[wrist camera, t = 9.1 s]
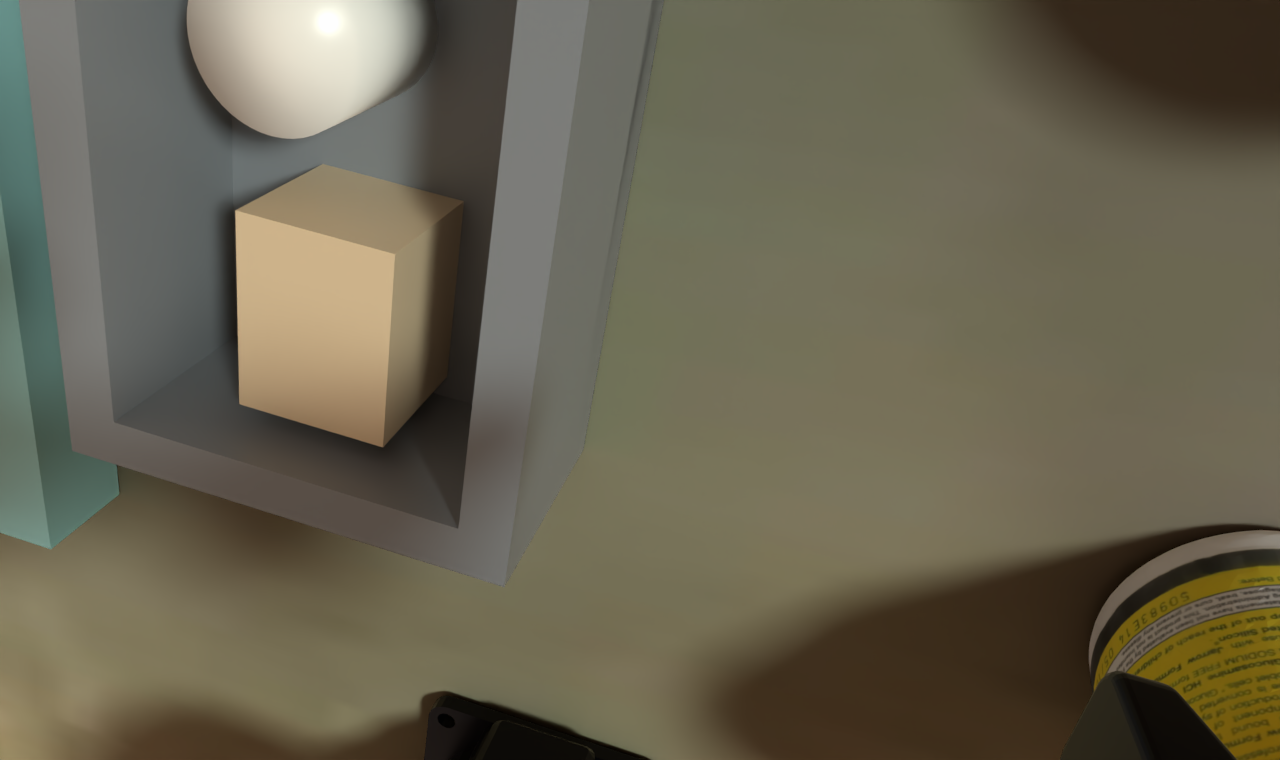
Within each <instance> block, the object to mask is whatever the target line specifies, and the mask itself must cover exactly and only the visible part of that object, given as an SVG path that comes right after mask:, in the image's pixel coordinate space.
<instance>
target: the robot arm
mask: <svg viewBox="0 0 1280 760" xmlns="http://www.w3.org/2000/svg"><path fill="white" fill-rule="evenodd" d="M449 715H450V716H449ZM451 716H452V717H451ZM424 760H642V759H639V758H636V757H633V756H630V755H627V754H624V753H621V752H618V751H615V750H612V749H609V748H606V747H603V746H600V745H597V744H594V743H591V742H588V741H585V740H582V739H579V738H576V737H573V736H570V735H567V734H564V733H561V732H558V731H555V730H552V729H549V728H546V727H543V726H540V725H536V724H533V723H530V722H527V721H524V720H521V719H518V718H515V717H512V716H509V715H506V714H503V713H500V712H497V711H494V710H491V709H488V708H485V707H482V706H479V705H476V704H473V703H470V702H467V701H464V700H461V699H458V698H455V697H451V696H443V697H440V698H439V699H437V701H436V702H435V704H434V706H433V708H432V709H431V711H430V714H429V720H428V729H427V738H426V748H425V757H424ZM1060 760H1237V759H1236V758H1235V756H1234V755H1233V754H1232V753H1231V752H1230V751H1229V750H1228V748H1227V747H1226V746H1225V745H1224V744H1223V743H1222V742H1221V740H1220V739H1219V738H1218V737H1217V736H1216V735H1215V734H1214V732H1213V731H1212V730H1211V729H1210V728H1209V727H1208V726H1207V724H1206V723H1205V722H1204V721H1203V720H1202V719H1201V718H1200V716H1199V715H1198V714H1197V713H1196V712H1195V711H1194V710H1193V708H1192V707H1191V706H1190V705H1189V704H1188V703H1187V702H1186V700H1185V699H1184V698H1183V697H1182V696H1181V695H1180V694H1179V693H1178V692H1177V691H1176V690H1175V689H1174V688H1172V687H1171V686H1169V685H1167V684H1164V683H1161V682H1157V681H1154V680H1150V679H1147V678H1143V677H1140V676H1137V675H1133V674H1130V673H1126V672H1123V671H1114V672H1110V673H1107V674H1106V675H1105V676H1104V677H1103V678H1102V679H1101V680H1100V682H1099V683H1098V685H1097V687H1096V688H1095V690H1094V692H1093V694H1092V696H1091V698H1090V700H1089V702H1088V704H1087V705H1086V707H1085V709H1084V711H1083V713H1082V715H1081V717H1080V719H1079V720H1078V722H1077V724H1076V726H1075V728H1074V730H1073V732H1072V734H1071V736H1070V737H1069V739H1068V741H1067V743H1066V745H1065V747H1064V749H1063V752H1062V755H1061V758H1060Z"/></svg>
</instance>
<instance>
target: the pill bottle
mask: <svg viewBox="0 0 1280 760" xmlns="http://www.w3.org/2000/svg"><path fill="white" fill-rule="evenodd" d="M1089 668H1090V675H1091V686H1092V692H1094V690H1095V688H1096V687H1097V685H1098V683H1099V682H1100V680H1101V679H1102V678H1103V677H1104V676H1105V675H1106V674H1107V673H1110V672H1114V671H1123V672H1126V673H1130V674H1133V675H1137V676H1140V677H1143V678H1147V679H1150V680H1154V681H1157V682H1161V683H1164V684H1167V685H1169V686H1171V687H1172V688H1174V689H1175V690H1176V691H1177V692H1178V693H1179V694H1180V695H1181V696H1182V697H1183V698H1184V699H1185V700H1186V702H1187V703H1188V704H1189V705H1190V706H1191V707H1192V708H1193V710H1194V711H1195V712H1196V713H1197V714H1198V715H1199V716H1200V718H1201V719H1202V720H1203V721H1204V722H1205V723H1206V724H1207V726H1208V727H1209V728H1210V729H1211V730H1212V731H1213V732H1214V734H1215V735H1216V736H1217V737H1218V738H1219V739H1220V740H1221V742H1222V743H1223V744H1224V745H1225V746H1226V747H1227V748H1228V750H1229V751H1230V752H1231V753H1232V754H1233V755H1234V756H1235V758H1236V759H1237V760H1280V531H1269V530H1253V531H1241V532H1233V533H1227V534H1221V535H1216V536H1212V537H1207V538H1203V539H1200V540H1197V541H1193V542H1190V543H1187V544H1184V545H1182V546H1179V547H1177V548H1174V549H1171V550H1169V551H1167V552H1166V553H1164V554H1162V555H1160V556H1158V557H1156V558H1154V559H1152V560H1151V561H1149V562H1147V563H1146V564H1144V565H1143V566H1142V567H1140V568H1139V569H1137V570H1136V571H1135V572H1133V573H1132V574H1131V575H1130V576H1129V577H1127V578H1126V579H1125V580H1124V581H1123V582H1122V583H1121V584H1120V585H1119V586H1118V587H1117V588H1116V589H1115V590H1114V592H1113V593H1112V594H1111V595H1110V596H1109V598H1108V599H1107V601H1106V602H1105V604H1104V606H1103V607H1102V609H1101V611H1100V613H1099V615H1098V617H1097V619H1096V621H1095V624H1094V628H1093V631H1092V635H1091V639H1090V644H1089Z"/></svg>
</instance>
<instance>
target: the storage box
mask: <svg viewBox="0 0 1280 760" xmlns="http://www.w3.org/2000/svg"><path fill="white" fill-rule="evenodd" d="M663 2H664V0H19V7H20V15H21V23H22V32H23V40H24V49H25V57H26V66H27V74H28V83H29V91H30V99H31V108H32V116H33V125H34V133H35V142H36V150H37V158H38V167H39V175H40V184H41V192H42V201H43V209H44V218H45V226H46V234H47V243H48V251H49V260H50V268H51V277H52V285H53V293H54V302H55V310H56V319H57V327H58V336H59V344H60V353H61V361H62V369H63V378H64V386H65V395H66V403H67V412H68V420H69V428H70V437H71V445H72V451H74V452H77V453H81V454H84V455H87V456H90V457H93V458H96V459H100V460H103V461H106V462H109V463H112V464H115V465H119V466H122V467H125V468H128V469H131V470H134V471H138V472H141V473H144V474H147V475H150V476H153V477H157V478H160V479H163V480H166V481H169V482H172V483H176V484H179V485H182V486H185V487H188V488H192V489H195V490H198V491H201V492H204V493H207V494H211V495H214V496H217V497H220V498H223V499H226V500H230V501H233V502H236V503H239V504H242V505H245V506H249V507H252V508H255V509H258V510H261V511H264V512H268V513H271V514H274V515H277V516H280V517H283V518H287V519H290V520H293V521H296V522H299V523H303V524H306V525H309V526H312V527H315V528H318V529H322V530H325V531H328V532H331V533H334V534H337V535H341V536H344V537H347V538H350V539H353V540H356V541H360V542H363V543H366V544H369V545H372V546H375V547H379V548H382V549H385V550H388V551H391V552H394V553H398V554H401V555H404V556H407V557H410V558H413V559H417V560H420V561H423V562H426V563H429V564H433V565H436V566H439V567H442V568H445V569H448V570H452V571H455V572H458V573H461V574H464V575H467V576H471V577H474V578H477V579H480V580H483V581H486V582H490V583H493V584H496V585H499V586H502V587H505V585H506V583H507V582H508V580H509V578H510V576H511V575H512V573H513V571H514V569H515V568H516V566H517V564H518V562H519V561H520V559H521V557H522V555H523V554H524V552H525V550H526V548H527V547H528V545H529V543H530V541H531V540H532V538H533V536H534V535H535V533H536V531H537V529H538V528H539V526H540V524H541V522H542V521H543V519H544V517H545V515H546V514H547V512H548V510H549V508H550V507H551V505H552V503H553V501H554V500H555V498H556V496H557V494H558V493H559V491H560V489H561V488H562V486H563V484H564V482H565V481H566V479H567V477H568V475H569V474H570V472H571V470H572V468H573V467H574V465H575V463H576V461H577V460H578V458H579V456H580V454H581V453H582V451H583V448H584V443H585V437H586V432H587V426H588V421H589V415H590V409H591V404H592V398H593V393H594V387H595V381H596V376H597V370H598V365H599V359H600V354H601V348H602V342H603V337H604V331H605V326H606V320H607V314H608V309H609V303H610V298H611V292H612V287H613V281H614V275H615V270H616V264H617V259H618V253H619V248H620V242H621V236H622V231H623V225H624V220H625V214H626V208H627V203H628V197H629V192H630V186H631V181H632V175H633V169H634V164H635V158H636V153H637V147H638V141H639V136H640V130H641V125H642V119H643V114H644V108H645V102H646V97H647V91H648V86H649V80H650V75H651V69H652V63H653V58H654V52H655V47H656V41H657V35H658V30H659V24H660V19H661V13H662V8H663Z"/></svg>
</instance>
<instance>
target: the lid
mask: <svg viewBox="0 0 1280 760" xmlns="http://www.w3.org/2000/svg"><path fill="white" fill-rule="evenodd" d="M118 495H119V485H118V475H117V465H115V464H112V463H109V462H106V461H103V460H100V459H96V458H93V457H90V456H87V455H84V454H81V453H77V452H74V451H72V445H71V437H70V428H69V420H68V412H67V403H66V395H65V386H64V378H63V369H62V361H61V353H60V344H59V336H58V327H57V319H56V310H55V302H54V293H53V285H52V277H51V268H50V260H49V251H48V243H47V234H46V226H45V218H44V209H43V201H42V192H41V184H40V175H39V167H38V158H37V150H36V142H35V133H34V125H33V116H32V108H31V99H30V91H29V83H28V74H27V66H26V57H25V49H24V40H23V32H22V23H21V15H20V7H19V0H0V533H3V534H6V535H9V536H12V537H15V538H18V539H21V540H24V541H27V542H30V543H33V544H36V545H39V546H42V547H45V548H48V549H52V548H53V547H54V546H56V545H57V544H58V543H59V542H61V541H62V540H63V539H64V538H66V537H67V536H68V535H69V534H71V533H72V532H73V531H74V530H76V529H77V528H78V527H79V526H81V525H82V524H83V523H84V522H86V521H87V520H88V519H89V518H91V517H92V516H93V515H94V514H95V513H97V512H98V511H99V510H100V509H102V508H103V507H104V506H105V505H107V504H108V503H109V502H110V501H112V500H113V499H114V498H115V497H117V496H118Z"/></svg>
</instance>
